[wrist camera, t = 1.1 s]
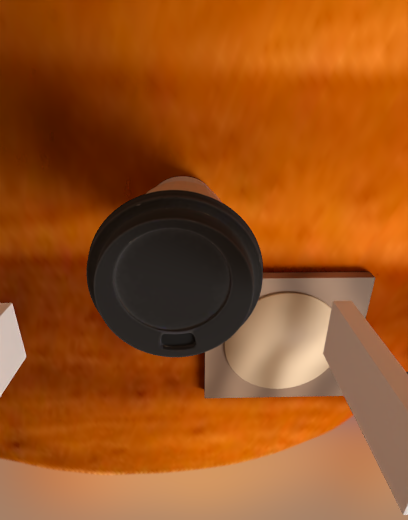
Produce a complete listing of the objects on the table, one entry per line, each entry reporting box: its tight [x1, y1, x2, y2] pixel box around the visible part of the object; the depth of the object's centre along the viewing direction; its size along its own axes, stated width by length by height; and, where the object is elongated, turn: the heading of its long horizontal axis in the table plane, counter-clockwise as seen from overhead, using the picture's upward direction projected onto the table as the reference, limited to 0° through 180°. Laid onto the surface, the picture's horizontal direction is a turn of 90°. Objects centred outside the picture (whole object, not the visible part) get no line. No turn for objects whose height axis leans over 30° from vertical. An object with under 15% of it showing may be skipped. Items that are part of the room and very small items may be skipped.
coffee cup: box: [87, 176, 263, 357], centre depth 24 cm, size 9×9×15 cm
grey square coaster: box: [204, 272, 375, 398], centre depth 36 cm, size 16×15×2 cm
